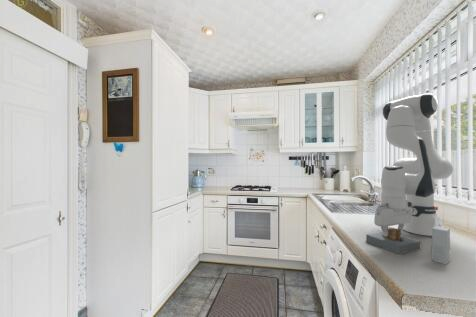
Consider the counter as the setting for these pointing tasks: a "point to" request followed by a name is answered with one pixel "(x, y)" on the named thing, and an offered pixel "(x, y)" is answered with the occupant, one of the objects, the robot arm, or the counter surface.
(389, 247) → the slate socket block
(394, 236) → the brown wooden block
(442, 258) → the skincare box
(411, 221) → the robot arm
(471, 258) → the counter surface
